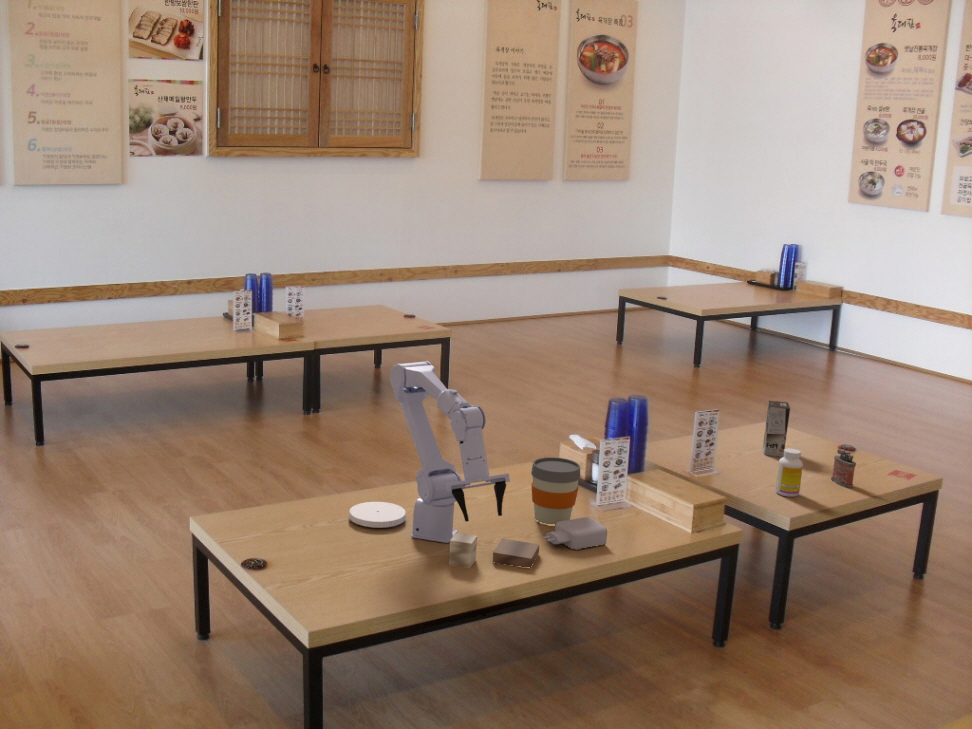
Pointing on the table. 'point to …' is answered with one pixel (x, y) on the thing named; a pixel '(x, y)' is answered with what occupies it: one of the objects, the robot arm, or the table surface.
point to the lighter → (843, 469)
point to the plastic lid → (377, 514)
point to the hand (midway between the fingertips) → (483, 518)
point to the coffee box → (776, 428)
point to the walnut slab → (515, 553)
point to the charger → (578, 533)
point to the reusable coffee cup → (554, 488)
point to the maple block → (463, 550)
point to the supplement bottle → (789, 473)
